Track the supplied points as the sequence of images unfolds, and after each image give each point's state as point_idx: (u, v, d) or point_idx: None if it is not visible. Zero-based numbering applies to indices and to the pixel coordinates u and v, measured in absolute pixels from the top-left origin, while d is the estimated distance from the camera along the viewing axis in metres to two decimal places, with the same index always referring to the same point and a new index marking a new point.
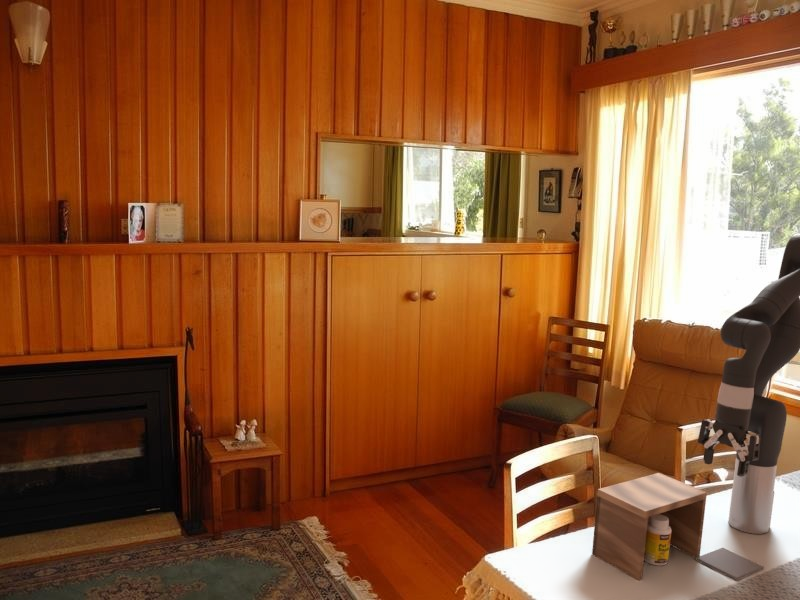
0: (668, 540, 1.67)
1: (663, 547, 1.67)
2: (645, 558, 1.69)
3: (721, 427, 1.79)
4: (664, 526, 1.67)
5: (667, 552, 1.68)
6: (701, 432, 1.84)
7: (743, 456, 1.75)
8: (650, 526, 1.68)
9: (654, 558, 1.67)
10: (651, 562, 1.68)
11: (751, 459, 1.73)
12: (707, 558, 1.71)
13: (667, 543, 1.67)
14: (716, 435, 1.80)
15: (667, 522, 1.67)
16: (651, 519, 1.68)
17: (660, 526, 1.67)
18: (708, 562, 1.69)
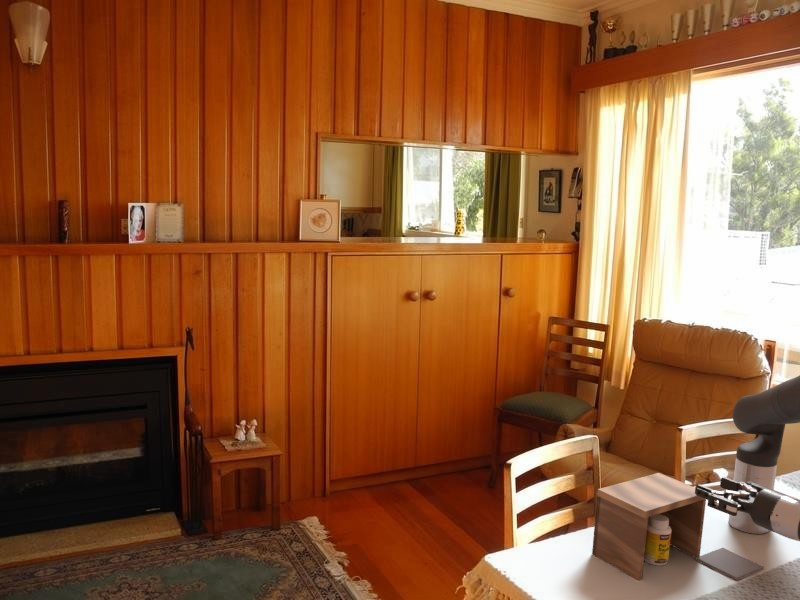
0: (668, 540, 1.67)
1: (663, 547, 1.67)
2: (645, 558, 1.69)
3: None
4: (664, 526, 1.67)
5: (667, 552, 1.68)
6: None
7: None
8: (650, 526, 1.68)
9: (654, 558, 1.67)
10: (651, 562, 1.68)
11: None
12: (707, 558, 1.71)
13: (667, 543, 1.67)
14: None
15: (667, 522, 1.67)
16: (651, 519, 1.68)
17: (660, 526, 1.67)
18: (708, 562, 1.69)
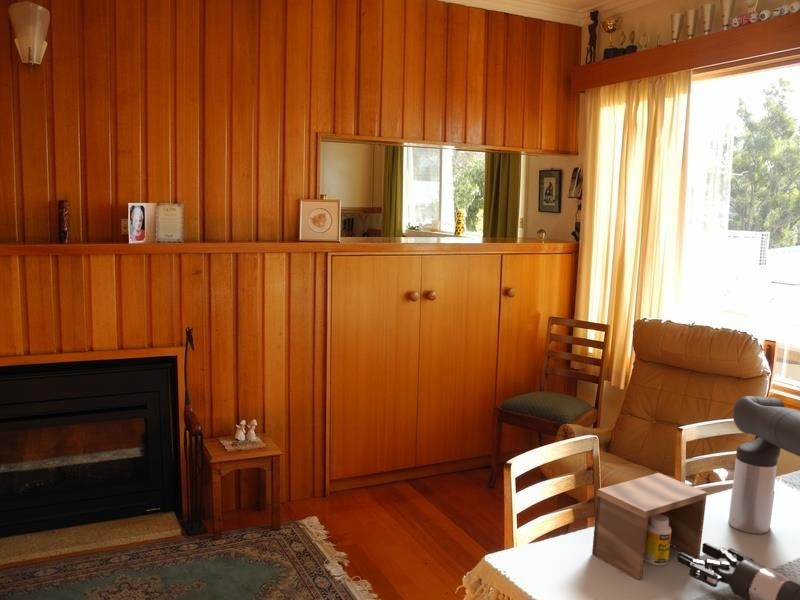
0: (668, 540, 1.67)
1: (663, 547, 1.67)
2: (645, 558, 1.69)
3: None
4: (664, 526, 1.67)
5: (667, 552, 1.68)
6: None
7: None
8: (650, 526, 1.68)
9: (654, 558, 1.67)
10: (651, 562, 1.68)
11: None
12: (707, 558, 1.71)
13: (667, 543, 1.67)
14: None
15: (667, 522, 1.67)
16: (651, 519, 1.68)
17: (660, 526, 1.67)
18: None
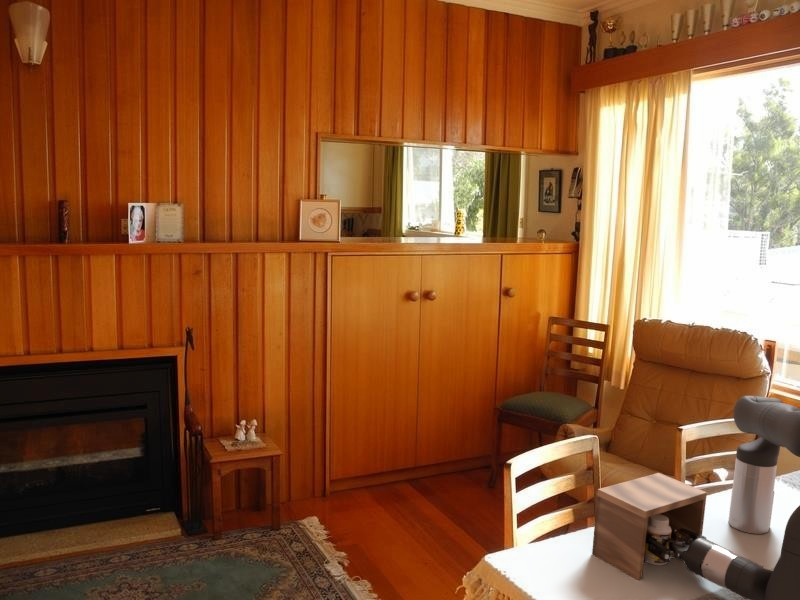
0: None
1: None
2: (645, 558, 1.69)
3: None
4: (664, 526, 1.67)
5: None
6: None
7: None
8: (650, 526, 1.68)
9: (654, 558, 1.67)
10: (651, 562, 1.68)
11: None
12: None
13: (667, 543, 1.67)
14: None
15: (667, 522, 1.67)
16: (651, 519, 1.68)
17: (660, 526, 1.67)
18: None
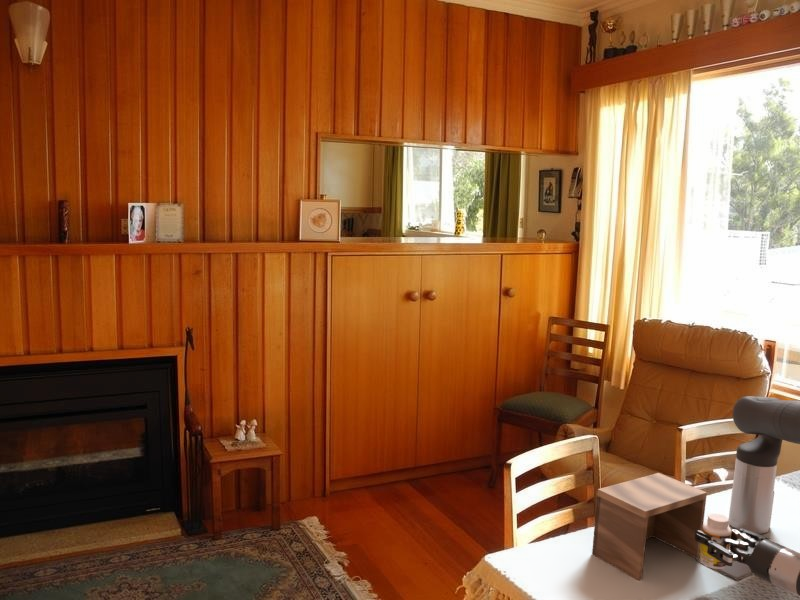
0: None
1: None
2: (703, 561, 1.57)
3: None
4: (724, 527, 1.55)
5: None
6: None
7: None
8: (708, 527, 1.56)
9: (713, 561, 1.55)
10: (710, 565, 1.56)
11: None
12: None
13: None
14: None
15: (727, 522, 1.55)
16: (709, 519, 1.56)
17: (720, 527, 1.55)
18: None
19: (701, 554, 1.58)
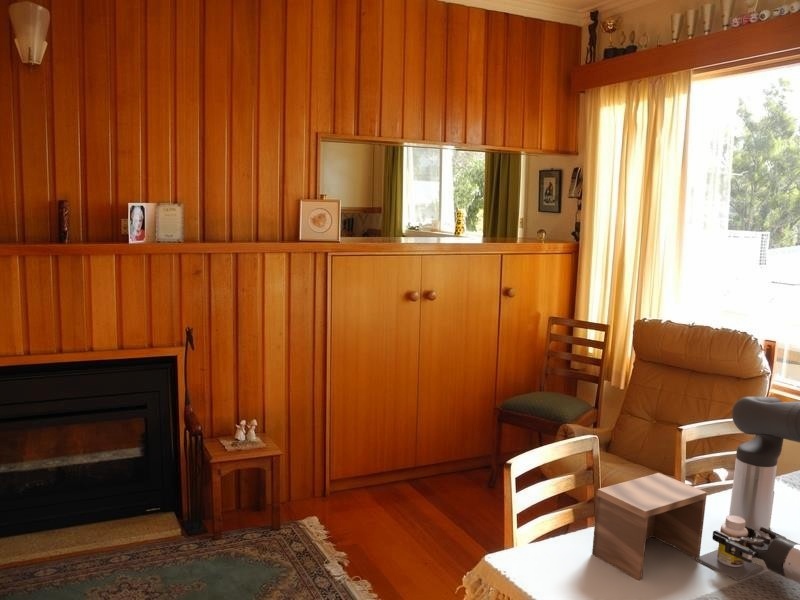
0: (745, 542, 1.67)
1: None
2: (721, 560, 1.68)
3: None
4: (741, 528, 1.66)
5: None
6: None
7: None
8: (726, 527, 1.68)
9: (731, 560, 1.67)
10: (727, 564, 1.67)
11: None
12: (707, 558, 1.71)
13: None
14: None
15: (744, 524, 1.67)
16: (727, 520, 1.68)
17: (737, 528, 1.66)
18: (708, 562, 1.69)
19: (719, 553, 1.69)
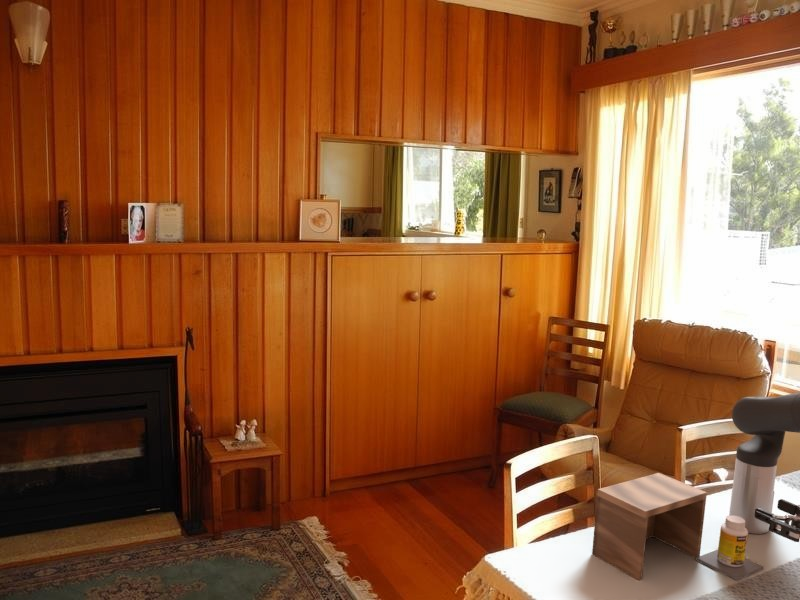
0: (745, 542, 1.67)
1: (740, 548, 1.66)
2: (721, 560, 1.68)
3: None
4: (741, 528, 1.66)
5: (743, 554, 1.67)
6: None
7: None
8: (726, 528, 1.68)
9: (731, 560, 1.67)
10: (727, 564, 1.67)
11: None
12: (707, 558, 1.71)
13: (743, 544, 1.66)
14: None
15: (744, 524, 1.67)
16: (727, 520, 1.68)
17: (737, 528, 1.66)
18: (708, 562, 1.69)
19: (719, 553, 1.69)
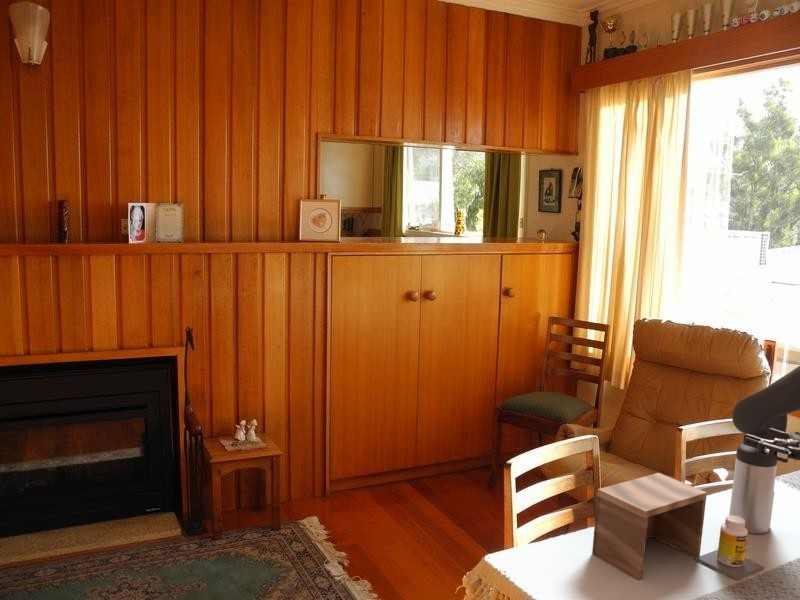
0: (745, 542, 1.67)
1: (740, 548, 1.66)
2: (721, 560, 1.68)
3: None
4: (741, 528, 1.66)
5: (743, 554, 1.67)
6: None
7: None
8: (726, 528, 1.68)
9: (731, 560, 1.67)
10: (727, 564, 1.67)
11: None
12: (707, 558, 1.71)
13: (743, 544, 1.66)
14: None
15: (744, 524, 1.67)
16: (727, 520, 1.68)
17: (737, 528, 1.66)
18: (708, 562, 1.69)
19: (719, 553, 1.69)
